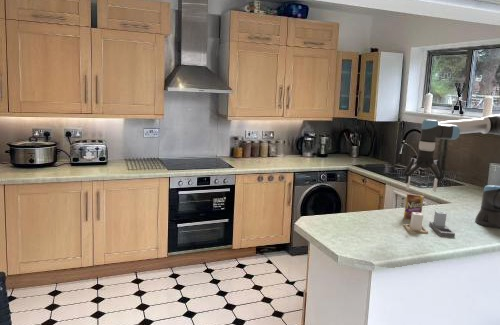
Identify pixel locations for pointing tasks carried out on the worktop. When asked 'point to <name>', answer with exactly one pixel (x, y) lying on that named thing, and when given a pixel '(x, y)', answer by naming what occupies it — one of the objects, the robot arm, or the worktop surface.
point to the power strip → (442, 230)
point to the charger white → (416, 221)
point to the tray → (415, 230)
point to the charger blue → (439, 218)
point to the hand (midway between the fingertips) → (420, 190)
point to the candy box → (413, 204)
